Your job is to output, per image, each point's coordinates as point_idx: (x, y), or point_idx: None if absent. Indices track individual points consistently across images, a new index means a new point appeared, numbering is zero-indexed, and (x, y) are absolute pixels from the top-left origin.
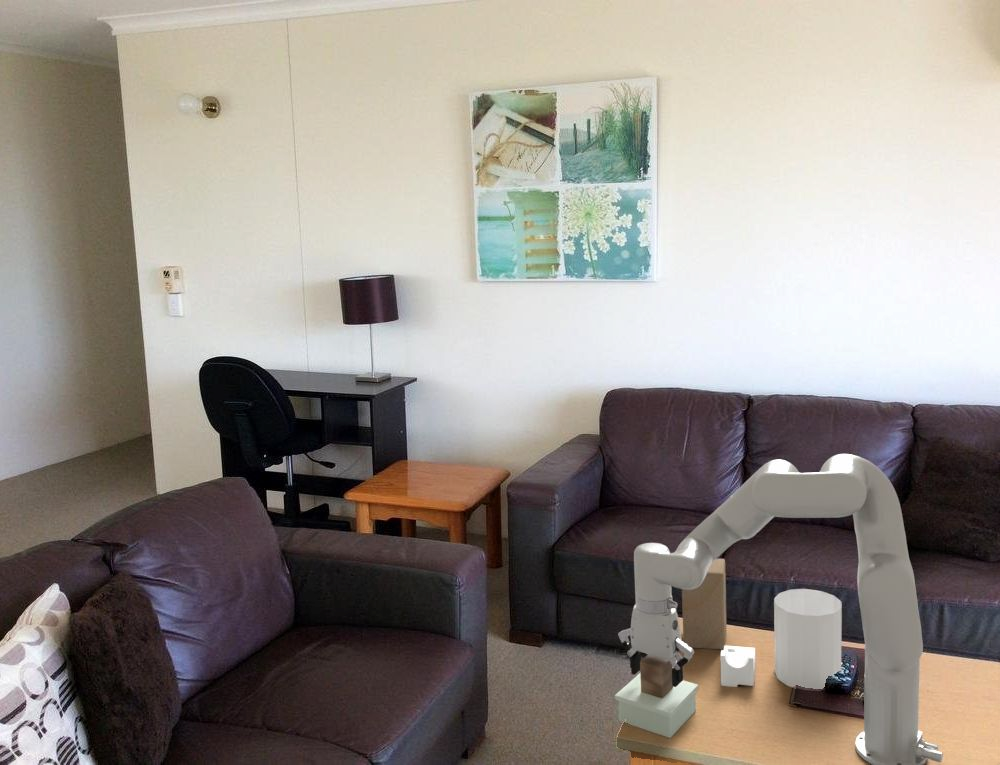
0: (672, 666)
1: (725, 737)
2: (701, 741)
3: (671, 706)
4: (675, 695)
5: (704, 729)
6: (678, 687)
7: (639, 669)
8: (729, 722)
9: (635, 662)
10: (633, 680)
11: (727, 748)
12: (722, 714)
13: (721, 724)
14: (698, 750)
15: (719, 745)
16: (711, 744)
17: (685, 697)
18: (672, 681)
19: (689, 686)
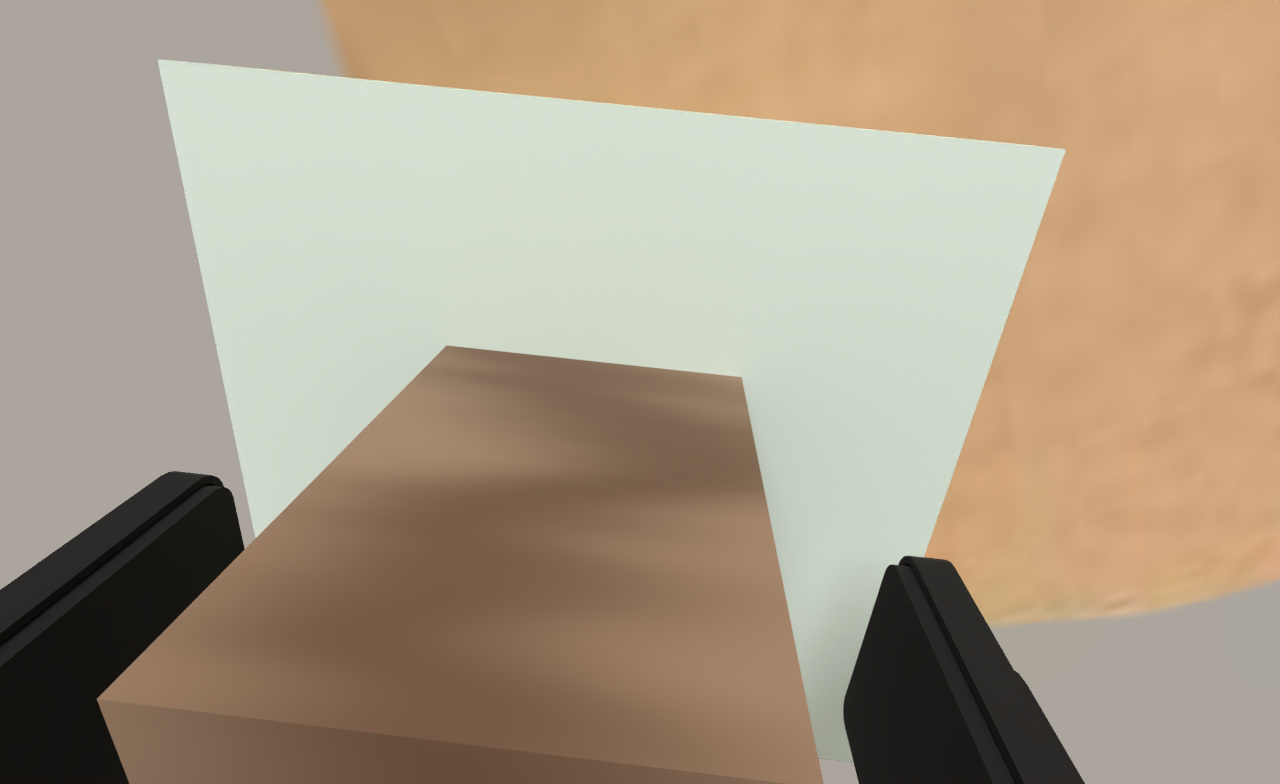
0: (783, 587)
1: (1188, 422)
2: (1007, 525)
3: (833, 684)
4: (817, 512)
5: (1011, 388)
6: (801, 338)
7: (228, 538)
8: (1230, 203)
9: (115, 779)
10: (247, 406)
11: (1201, 531)
12: (1161, 94)
13: (1153, 265)
14: (1000, 609)
15: (1141, 521)
16: (1082, 530)
17: (939, 508)
18: (864, 780)
19: (941, 254)
